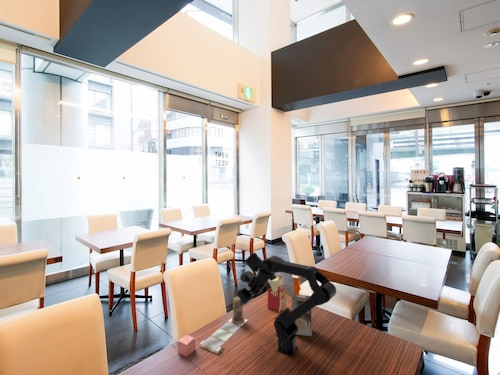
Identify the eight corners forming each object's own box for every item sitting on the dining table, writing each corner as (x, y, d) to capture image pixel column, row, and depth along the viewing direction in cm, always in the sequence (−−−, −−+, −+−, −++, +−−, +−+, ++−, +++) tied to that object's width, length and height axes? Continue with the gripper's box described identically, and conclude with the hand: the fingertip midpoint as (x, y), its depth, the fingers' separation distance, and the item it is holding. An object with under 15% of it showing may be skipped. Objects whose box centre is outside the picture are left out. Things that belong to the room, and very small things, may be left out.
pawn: (246, 319, 128) (246, 297, 127) (239, 325, 123) (239, 302, 122) (236, 316, 131) (236, 294, 130) (229, 321, 126) (229, 299, 125)
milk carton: (287, 307, 142) (287, 271, 141) (279, 314, 134) (280, 277, 134) (272, 302, 147) (272, 268, 146) (264, 309, 139) (264, 273, 138)
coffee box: (311, 328, 122) (311, 295, 121) (311, 336, 116) (311, 302, 115) (292, 326, 124) (292, 293, 123) (291, 334, 118) (291, 299, 117)
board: (250, 322, 127) (250, 320, 127) (217, 354, 105) (217, 351, 105) (233, 317, 132) (233, 314, 132) (199, 346, 110) (199, 343, 110)
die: (195, 349, 108) (195, 337, 107) (186, 356, 103) (186, 344, 103) (186, 345, 110) (186, 334, 110) (177, 352, 106) (177, 340, 106)
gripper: (261, 260, 126) (248, 282, 132) (236, 271, 112) (222, 295, 118) (277, 277, 121) (263, 299, 127) (253, 291, 106) (237, 315, 112)
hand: (246, 301), depth 121 cm, fingers open, 9 cm apart
